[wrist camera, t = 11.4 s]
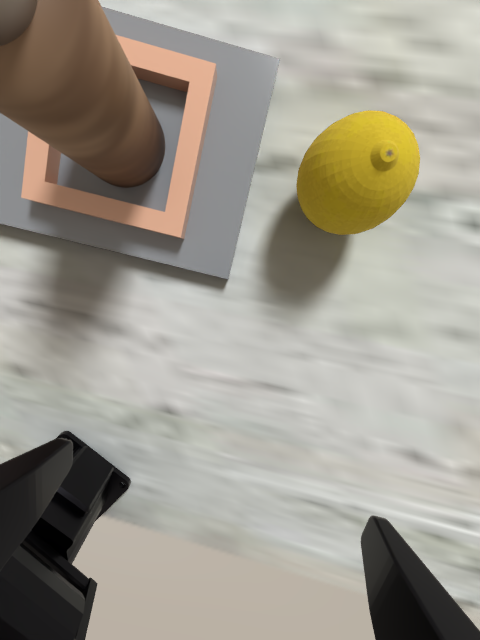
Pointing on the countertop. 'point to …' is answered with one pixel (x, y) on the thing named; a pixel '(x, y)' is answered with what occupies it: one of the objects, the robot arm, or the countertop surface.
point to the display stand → (178, 164)
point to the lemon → (358, 172)
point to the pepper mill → (77, 89)
